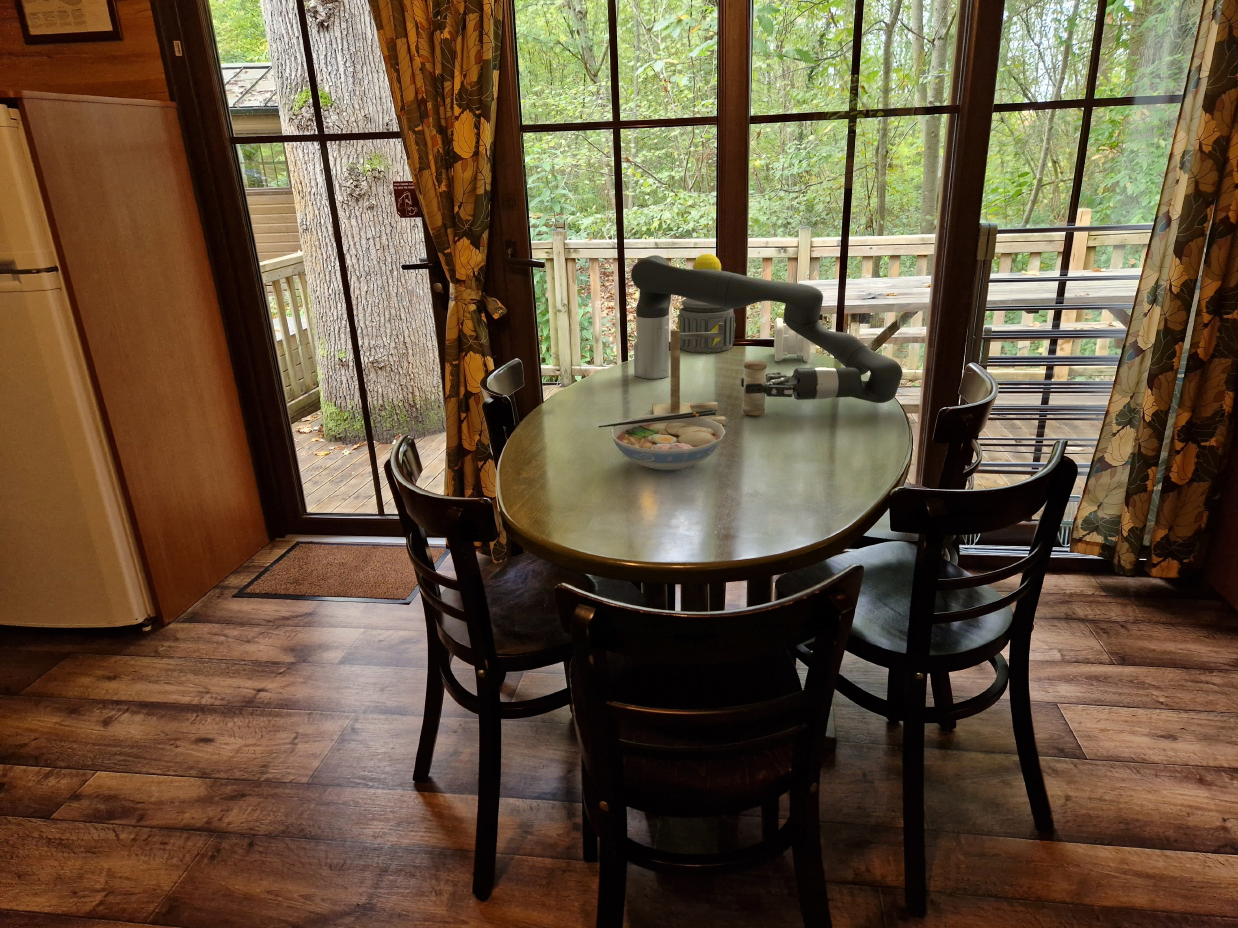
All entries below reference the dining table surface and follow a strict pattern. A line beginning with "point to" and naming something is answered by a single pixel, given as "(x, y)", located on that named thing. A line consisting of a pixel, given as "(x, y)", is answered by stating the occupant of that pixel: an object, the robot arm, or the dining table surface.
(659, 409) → the hook stand
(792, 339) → the cable organizer
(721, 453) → the dining table surface
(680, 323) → the decorative lamp
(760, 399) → the cord spool
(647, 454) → the ramen bowl
